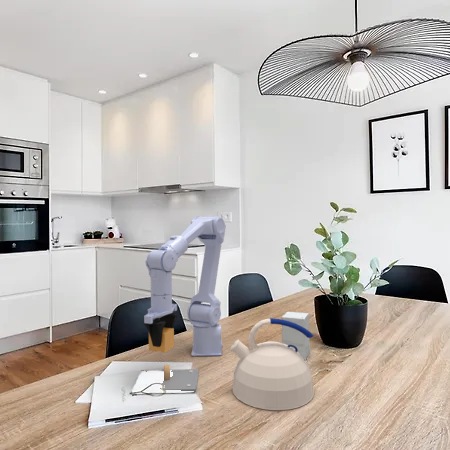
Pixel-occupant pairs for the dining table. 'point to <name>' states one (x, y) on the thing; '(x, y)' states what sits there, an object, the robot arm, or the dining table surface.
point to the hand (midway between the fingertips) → (161, 342)
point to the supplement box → (296, 332)
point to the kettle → (272, 372)
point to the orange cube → (164, 341)
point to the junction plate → (180, 379)
